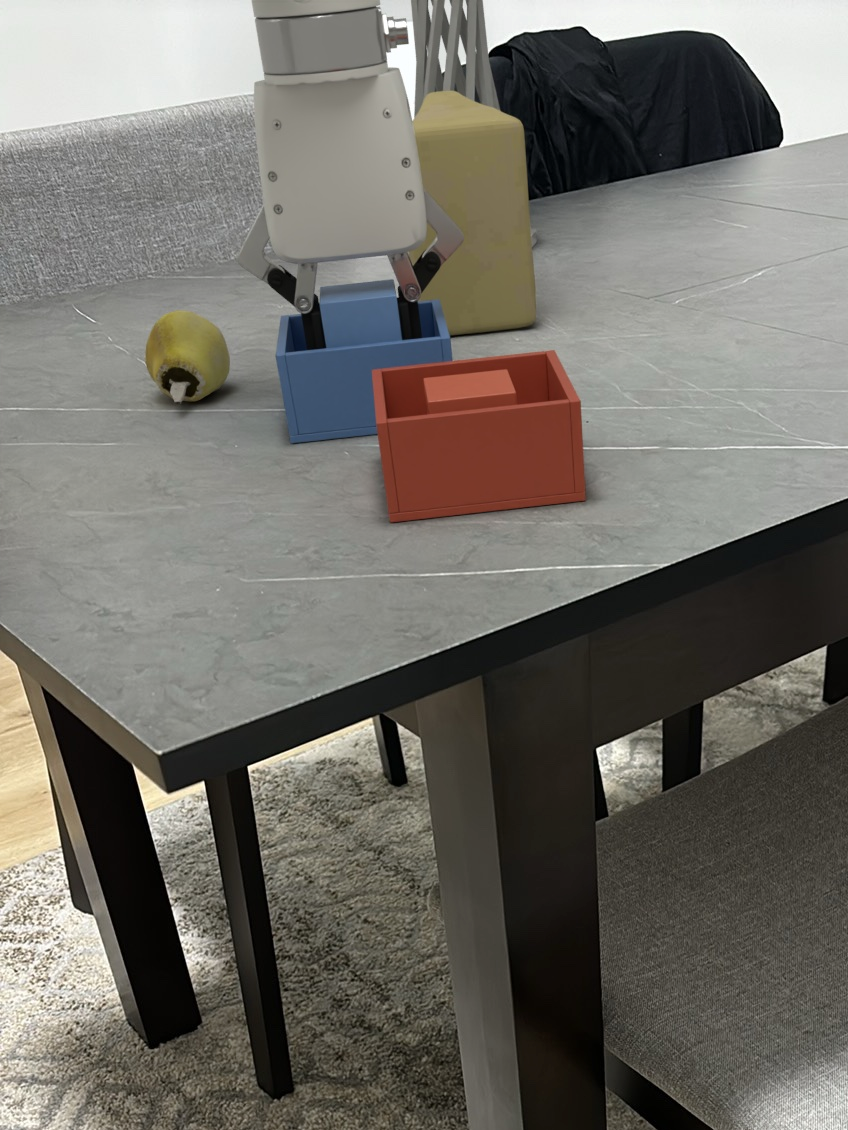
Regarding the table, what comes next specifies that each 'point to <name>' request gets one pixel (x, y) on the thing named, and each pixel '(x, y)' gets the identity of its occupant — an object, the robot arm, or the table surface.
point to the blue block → (360, 313)
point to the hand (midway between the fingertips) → (367, 363)
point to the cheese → (478, 213)
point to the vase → (453, 53)
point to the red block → (469, 391)
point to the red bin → (479, 441)
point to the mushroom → (186, 356)
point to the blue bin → (347, 376)
